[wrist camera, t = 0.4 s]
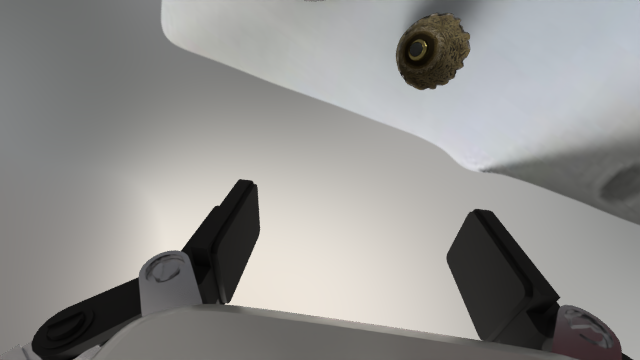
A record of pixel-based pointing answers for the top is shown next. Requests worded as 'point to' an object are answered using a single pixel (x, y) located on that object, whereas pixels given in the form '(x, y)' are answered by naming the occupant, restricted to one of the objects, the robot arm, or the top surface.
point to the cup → (433, 51)
